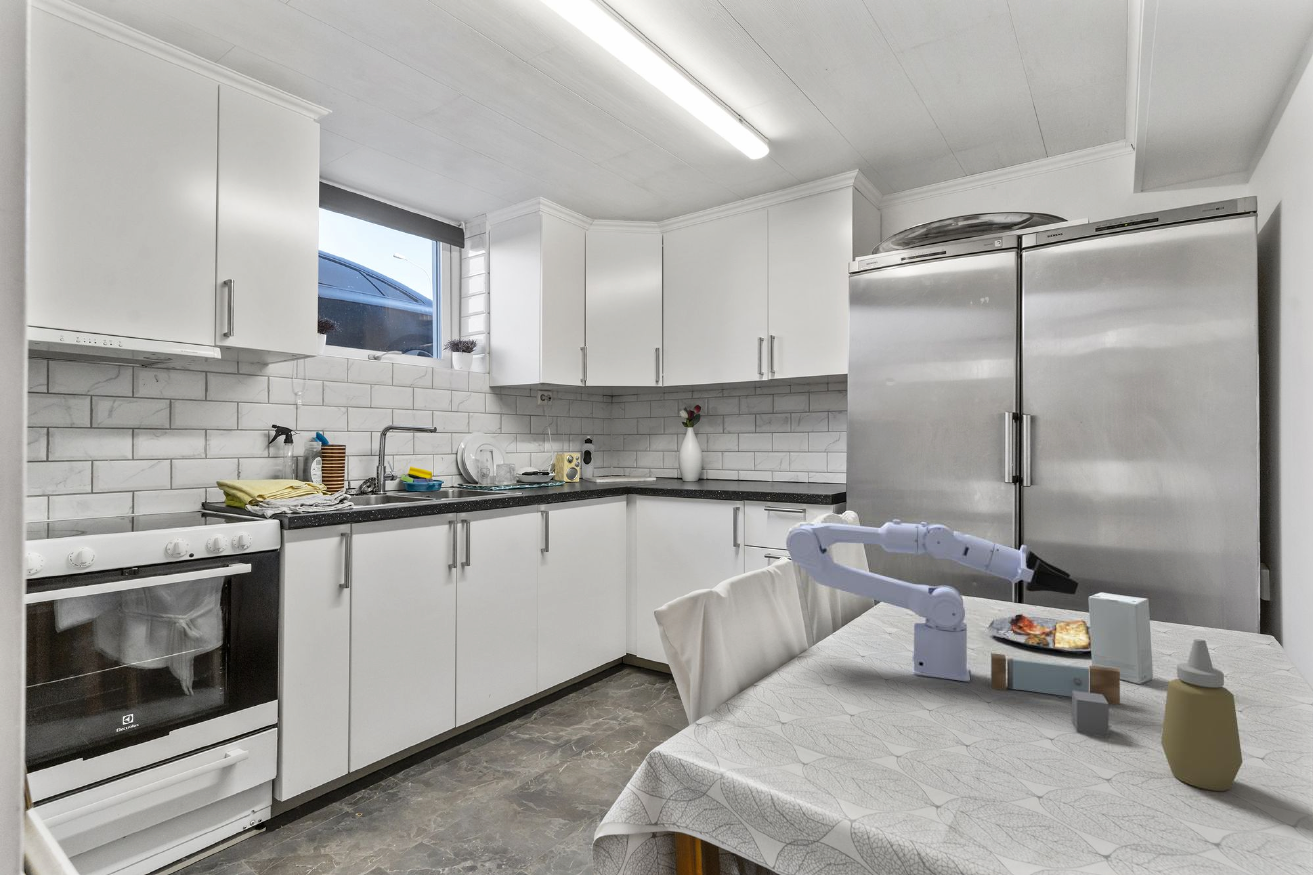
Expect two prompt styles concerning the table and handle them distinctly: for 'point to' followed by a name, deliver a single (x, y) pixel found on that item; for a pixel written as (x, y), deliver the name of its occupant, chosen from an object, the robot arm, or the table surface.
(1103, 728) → the block
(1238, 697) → the table surface
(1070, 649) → the food plate
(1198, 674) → the squeeze bottle
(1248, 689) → the table surface
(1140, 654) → the skincare box
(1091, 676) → the door frame
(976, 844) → the table surface
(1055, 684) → the door
